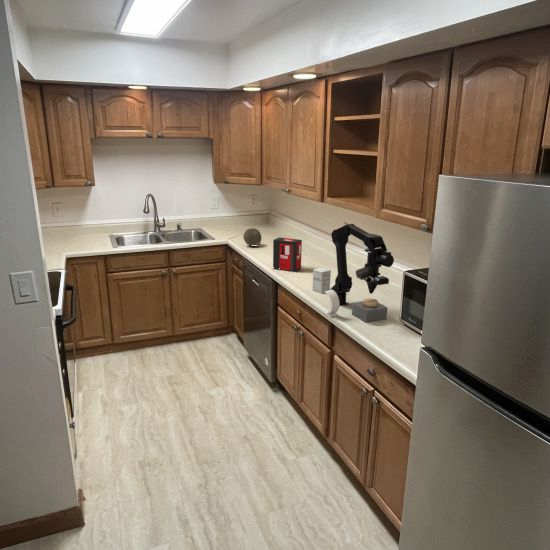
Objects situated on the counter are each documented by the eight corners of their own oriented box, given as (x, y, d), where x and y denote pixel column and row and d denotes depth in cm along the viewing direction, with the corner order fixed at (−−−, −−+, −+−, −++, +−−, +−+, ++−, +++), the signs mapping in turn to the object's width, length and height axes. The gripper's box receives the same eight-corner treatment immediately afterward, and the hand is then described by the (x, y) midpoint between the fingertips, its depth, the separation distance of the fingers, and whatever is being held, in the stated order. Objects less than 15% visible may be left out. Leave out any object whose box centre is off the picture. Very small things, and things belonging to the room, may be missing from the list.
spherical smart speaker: (254, 244, 370) (254, 226, 366) (264, 247, 360) (265, 228, 355) (240, 246, 361) (240, 228, 357) (250, 249, 351) (250, 230, 347)
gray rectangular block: (351, 314, 222) (352, 302, 220) (375, 310, 227) (376, 299, 226) (365, 323, 211) (366, 310, 210) (389, 318, 217) (391, 306, 215)
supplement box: (311, 290, 257) (312, 269, 254) (321, 287, 262) (321, 267, 258) (321, 293, 252) (322, 272, 248) (330, 291, 256) (331, 269, 253)
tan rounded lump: (359, 310, 220) (360, 299, 218) (371, 308, 223) (371, 297, 221) (367, 315, 214) (368, 304, 212) (379, 313, 217) (380, 302, 215)
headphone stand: (330, 312, 224) (332, 289, 221) (338, 316, 219) (340, 293, 216) (323, 314, 222) (324, 291, 218) (331, 318, 217) (332, 294, 214)
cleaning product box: (273, 269, 299) (273, 239, 293) (278, 266, 306) (278, 237, 301) (295, 272, 292) (296, 242, 286) (300, 269, 300) (301, 239, 294)
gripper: (347, 259, 216) (346, 289, 220) (370, 268, 200) (368, 301, 204) (367, 257, 220) (365, 287, 225) (391, 266, 204) (388, 298, 208)
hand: (370, 293), depth 215 cm, fingers closed
